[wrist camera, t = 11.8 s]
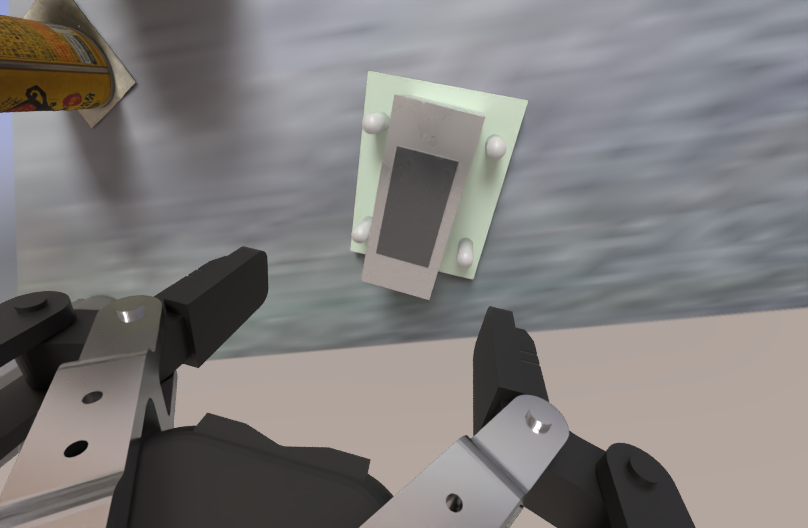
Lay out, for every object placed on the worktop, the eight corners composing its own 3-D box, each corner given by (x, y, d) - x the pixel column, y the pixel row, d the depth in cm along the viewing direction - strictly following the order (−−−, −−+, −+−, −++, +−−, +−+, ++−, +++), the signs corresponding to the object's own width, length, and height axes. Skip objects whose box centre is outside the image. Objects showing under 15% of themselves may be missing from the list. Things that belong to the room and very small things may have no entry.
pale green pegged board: (473, 271, 30) (473, 298, 26) (355, 244, 31) (338, 266, 27) (525, 100, 23) (535, 101, 20) (373, 71, 24) (354, 67, 20)
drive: (412, 94, 23) (393, 94, 18) (482, 112, 23) (485, 117, 18) (381, 246, 29) (360, 281, 24) (437, 262, 29) (429, 301, 23)
